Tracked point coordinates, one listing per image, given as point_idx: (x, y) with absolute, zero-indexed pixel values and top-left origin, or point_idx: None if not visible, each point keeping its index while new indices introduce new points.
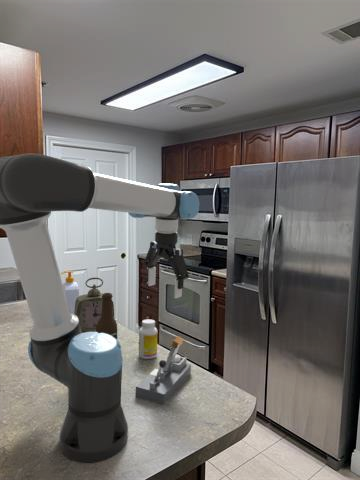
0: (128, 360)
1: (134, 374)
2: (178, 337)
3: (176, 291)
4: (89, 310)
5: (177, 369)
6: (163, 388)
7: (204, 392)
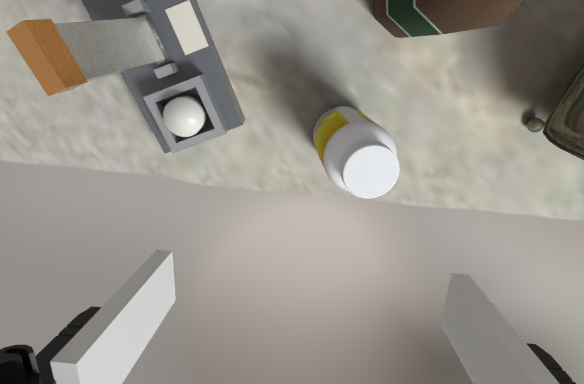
0: (361, 66)
1: (275, 12)
2: (53, 76)
3: (129, 282)
4: None
5: (154, 92)
6: None
7: (66, 94)
